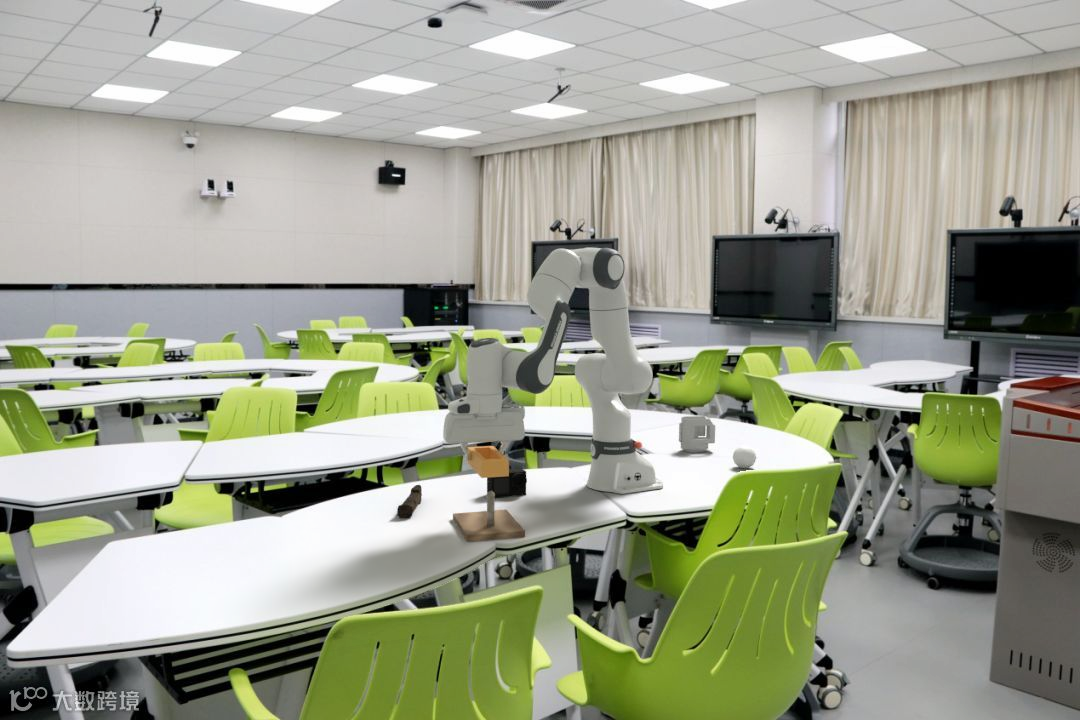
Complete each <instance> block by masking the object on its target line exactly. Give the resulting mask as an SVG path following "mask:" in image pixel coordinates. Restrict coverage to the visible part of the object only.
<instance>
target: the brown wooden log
mask: <svg viewBox="0 0 1080 720" xmlns="http://www.w3.org/2000/svg"><path fill="white" fill-rule="evenodd" d="M422 493H423V492H422V486H421V485H420V484H416V485H414V486H413V487H412V488H411V489H410V494H409V495H408V496H407V498H406V499H404V501H403V503H402V504H400V505H398V506H397V511H396V513H397V515H396V516H397V518H399V519H411V518H412V516H413V514H414V512H415V510H416V509H417V507H418V505H421V504H422V496H423V494H422Z"/></svg>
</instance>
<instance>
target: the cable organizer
mask: <svg viewBox="0 0 1080 720" xmlns="http://www.w3.org/2000/svg"><path fill="white" fill-rule="evenodd" d="M678 442H679V443H680V449H681V450H682V451H684V452H686V453H705V452H706V451H707V450H709V444H715V443H716V425H715V423H714V422H712V421H711V419H710V418H706V417H705V415H695V416H693V415H690V416H689V415H688V416H682V417H681V422H679V424H678Z"/></svg>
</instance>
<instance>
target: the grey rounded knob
mask: <svg viewBox="0 0 1080 720" xmlns="http://www.w3.org/2000/svg"><path fill="white" fill-rule="evenodd" d="M732 454H733V455H732V459H733V463H734V465H736V466H737V467H739V468H741V469H749V468H752V466H754V464H755V463H756V459H757V456H756V455H757V454H756V452H755V450H754V449H753V448H752V447H751V446H747V445H740V446H738V447H736V448H735V450H734V451H733V453H732Z"/></svg>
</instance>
